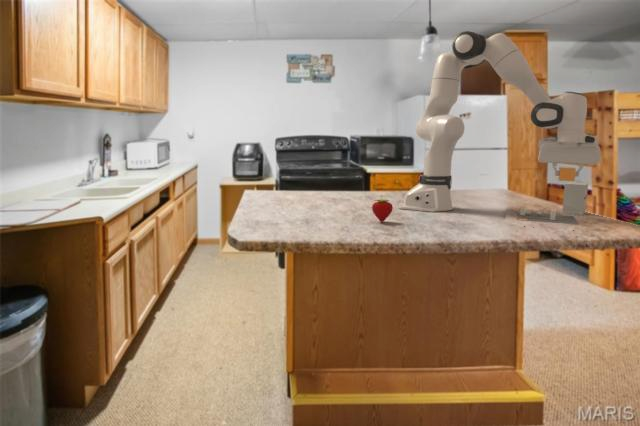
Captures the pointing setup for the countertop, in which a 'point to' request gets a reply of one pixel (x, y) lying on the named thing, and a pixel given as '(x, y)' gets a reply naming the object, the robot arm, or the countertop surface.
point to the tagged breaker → (553, 215)
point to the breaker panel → (546, 218)
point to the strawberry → (382, 209)
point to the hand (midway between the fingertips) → (566, 175)
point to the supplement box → (575, 198)
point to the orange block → (566, 174)
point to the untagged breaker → (522, 210)
